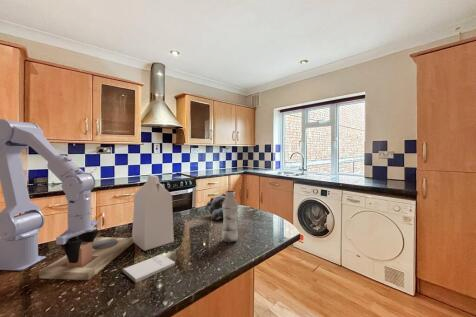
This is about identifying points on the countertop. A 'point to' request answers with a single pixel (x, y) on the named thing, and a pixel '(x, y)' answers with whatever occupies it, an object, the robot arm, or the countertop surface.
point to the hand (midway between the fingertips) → (79, 258)
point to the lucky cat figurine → (216, 207)
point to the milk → (152, 215)
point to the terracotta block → (83, 255)
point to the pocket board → (101, 256)
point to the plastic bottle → (230, 217)
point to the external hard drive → (148, 268)
